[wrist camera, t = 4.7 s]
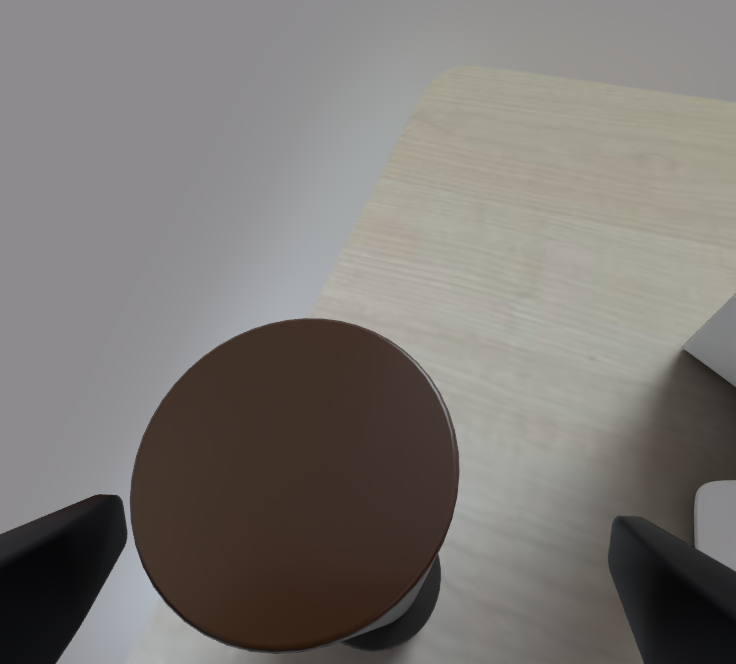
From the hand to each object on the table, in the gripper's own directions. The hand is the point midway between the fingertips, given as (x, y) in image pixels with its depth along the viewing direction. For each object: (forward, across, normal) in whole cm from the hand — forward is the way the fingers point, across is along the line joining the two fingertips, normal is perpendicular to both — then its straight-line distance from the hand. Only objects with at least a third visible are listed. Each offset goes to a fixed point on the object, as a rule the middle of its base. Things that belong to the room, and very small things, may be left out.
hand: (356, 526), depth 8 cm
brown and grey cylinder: (+5, 0, +6) cm, 8 cm away
